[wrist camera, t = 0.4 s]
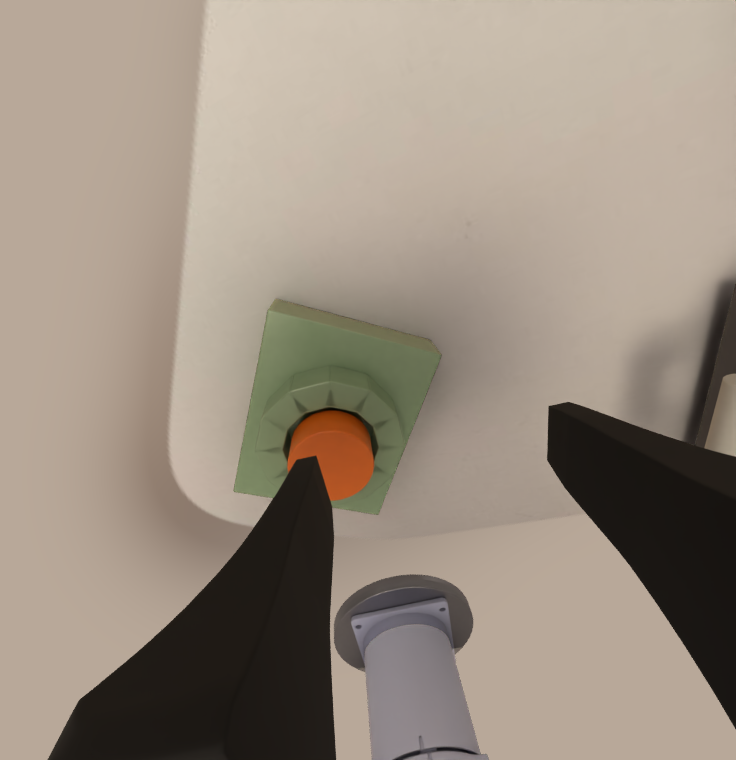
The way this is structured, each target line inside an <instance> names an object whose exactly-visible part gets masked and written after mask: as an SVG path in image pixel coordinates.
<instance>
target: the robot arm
mask: <svg viewBox="0 0 736 760" xmlns="http://www.w3.org/2000/svg"><path fill="white" fill-rule="evenodd" d="M547 460H548V462H549V464H550V465H551V467H552V468H553V470H554V472H555V473H556V475H557V476H558V478H559V479H560V481H561V482H562V484H563V486H564V487H565V488H566V490H567V491H568V492H569V493H570V495H571V496H572V497H573V498H574V499H575V501H576V502H577V503H578V504H579V505H580V507H581V508H582V509H583V510H584V511H585V512H586V514H587V515H588V516H589V517H590V518H591V519H592V520H593V522H594V523H595V524H596V525H597V527H598V528H599V529H600V530H601V531H602V532H603V533H604V535H605V536H606V537H607V538H608V539H609V540H610V542H611V543H612V544H613V545H614V546H615V547H616V549H617V550H618V551H619V552H620V554H621V555H622V556H623V557H624V559H625V560H626V561H627V563H628V564H629V565H630V566H631V568H632V569H633V570H634V572H635V573H636V575H637V576H638V578H639V579H640V580H641V582H642V583H643V585H644V586H645V587H646V589H647V590H648V592H649V593H650V594H651V596H652V597H653V599H654V600H655V602H656V603H657V605H658V606H659V607H660V609H661V611H662V612H663V614H664V615H665V617H666V618H667V620H668V621H669V622H670V624H671V626H672V627H673V629H674V630H675V632H676V633H677V635H678V636H679V638H680V639H681V641H682V642H683V644H684V645H685V647H686V649H687V650H688V652H689V653H690V655H691V657H692V658H693V660H694V661H695V663H696V664H697V666H698V668H699V669H700V671H701V672H702V674H703V676H704V677H705V679H706V680H707V682H708V684H709V685H710V687H711V688H712V690H713V692H714V693H715V695H716V697H717V698H718V700H719V702H720V703H721V705H722V707H723V708H724V710H725V712H726V713H727V715H728V717H729V719H730V720H731V722H732V723H733V725H734V727H735V729H736V457H735V456H731V455H727V454H724V453H720V452H716V451H712V450H709V449H705V448H702V447H698V446H695V445H692V444H689V443H685V442H682V441H679V440H676V439H673V438H670V437H667V436H664V435H661V434H658V433H655V432H652V431H649V430H646V429H643V428H641V427H638V426H635V425H632V424H630V423H627V422H624V421H621V420H619V419H616V418H613V417H611V416H608V415H605V414H603V413H600V412H597V411H594V410H592V409H589V408H586V407H583V406H580V405H577V404H574V403H570V402H566V403H561V404H557V405H552V406H549V415H548V453H547ZM333 547H334V530H333V515H332V505H331V501H330V498H329V495H328V492H327V488H326V485H325V482H324V479H323V475H322V472H321V469H320V466H319V462H318V459H317V456H311V457H307V458H302V459H297V460H296V461H295V463H294V464H293V466H292V468H291V469H290V471H289V473H288V475H287V476H286V478H285V480H284V482H283V483H282V485H281V487H280V488H279V490H278V492H277V493H276V495H275V497H274V498H273V500H272V501H271V503H270V504H269V506H268V508H267V509H266V511H265V512H264V514H263V515H262V517H261V518H260V520H259V521H258V523H257V524H256V525H255V527H254V528H253V530H252V531H251V533H250V534H249V535H248V537H247V538H246V540H245V541H244V542H243V544H242V545H241V546H240V548H239V549H238V550H237V551H236V553H235V554H234V555H233V556H232V558H231V559H230V560H229V561H228V562H227V564H226V565H225V566H224V567H223V568H222V569H221V570H220V572H219V573H218V574H217V575H216V576H215V577H214V578H213V579H212V580H211V582H209V583H208V584H207V586H206V587H205V588H204V589H203V590H202V591H201V592H200V593H199V594H198V595H197V596H196V597H195V598H194V599H193V600H192V602H190V604H189V605H188V606H187V607H186V608H185V609H184V610H183V611H182V612H180V613H179V614H178V615H177V616H176V617H175V618H174V619H173V620H172V621H171V622H170V623H169V624H168V625H167V626H166V627H165V628H164V629H163V630H161V631H160V632H159V633H158V634H157V635H156V636H155V637H154V638H153V639H152V640H151V641H150V642H148V643H147V644H146V645H145V646H144V647H143V648H142V649H140V650H139V651H138V652H137V653H136V654H135V655H134V656H132V657H131V658H130V659H129V660H128V661H126V662H125V663H124V664H123V665H122V666H120V667H119V668H118V669H117V670H115V671H114V672H113V673H112V674H111V675H109V676H108V677H107V678H106V679H105V680H103V681H102V682H101V683H100V684H99V685H97V686H96V687H95V688H94V689H93V690H91V691H90V692H89V693H88V694H86V695H85V696H84V697H82V698H81V699H80V700H79V701H78V703H77V705H76V707H75V709H74V710H73V712H72V714H71V716H70V718H69V720H68V722H67V724H66V726H65V727H64V729H63V731H62V733H61V735H60V737H59V739H58V741H57V743H56V745H55V747H54V749H53V751H52V753H51V755H50V756H49V758H48V760H336V751H335V733H334V717H333V697H332V678H331V677H332V676H331V652H330V605H331V586H332V567H333ZM351 625H352V628H353V631H354V634H355V637H356V640H357V643H358V646H359V649H360V652H361V655H362V658H363V661H364V664H365V672H366V686H367V699H368V712H369V727H370V740H371V754H372V760H489V759H488V755H487V754H481V753H480V750H479V746H478V743H477V739H476V735H475V731H474V728H473V724H472V720H471V717H470V713H469V710H468V706H467V702H466V699H465V695H464V691H463V688H462V684H461V680H460V677H459V673H458V670H457V666H456V660H455V653H454V645H453V638H452V631H451V623H450V616H449V609H448V603H447V600H446V599H445V598H443V597H441V598H436V599H431V600H426V601H421V602H416V603H412V604H407V605H402V606H397V607H392V608H387V609H383V610H378V611H373V612H368V613H363V614H359V615H355V616H353V617H352V618H351Z"/></svg>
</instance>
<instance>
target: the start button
mask: <svg viewBox="0 0 736 760" xmlns="http://www.w3.org/2000/svg"><path fill="white" fill-rule="evenodd" d="M311 456H317V459H318V462H319V466H320V469H321V472H322V475H323V479H324V482H325V485H326V488H327V492H328V495H329V498H330V501H335V500H341V499H345V498H348V497H350V496H353V495H354V494H356V493H358V492H359V491H361V490H362V489H363V488H364V487H365V486H366V485H367V483H368V482H369V480H370V479H371V476H372V474H373V470H374V458H373V452H372V446H371V440H370V435H369V432H368V430H367V428H366V427H365V425H364V424H363V423H362V422H361V421H360V420H359V419H357V418H356V417H354V416H353V415H351V414H348V413H346V412H342V411H337V410H327V411H321V412H317V413H315V414H312V415H310V416H309V417H307V418H305V419H304V420H303V421H302V422H301V423H300V424H299V425H298V426H297V428H296V429H295V431H294V433H293V436H292V440H291V446H290V451H289V457H288V463H287V470H288V473H289V471H290V469H291V468H292V466H293V464H294V463H295V461H296V460H297V459H302V458H307V457H311Z"/></svg>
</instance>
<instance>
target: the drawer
mask: <svg viewBox="0 0 736 760" xmlns="http://www.w3.org/2000/svg"><path fill="white" fill-rule="evenodd" d="M695 446H698V447H702V448H705V449H709V450H712V451H716V452H720V453H724V454H727V455H731V456H735V457H736V284H735V288H734V292H733V296H732V300H731V304H730V308H729V312H728V316H727V320H726V324H725V328H724V332H723V336H722V340H721V344H720V348H719V352H718V356H717V360H716V364H715V368H714V372H713V376H712V380H711V384H710V388H709V392H708V396H707V400H706V404H705V408H704V412H703V416H702V420H701V424H700V428H699V432H698V436H697V440H696V444H695Z"/></svg>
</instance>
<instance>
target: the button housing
mask: <svg viewBox="0 0 736 760" xmlns="http://www.w3.org/2000/svg"><path fill="white" fill-rule="evenodd" d="M441 356H442V355H441V353H440V352H439V351H438V349H437V348H436V347H435V345H434V344H433V343H432V342H431V340H429V339H425V338H421V337H417V336H414V335H410V334H406V333H402V332H399V331H395V330H391V329H387V328H384V327H380V326H376V325H372V324H369V323H365V322H361V321H357V320H354V319H350V318H346V317H342V316H339V315H335V314H331V313H328V312H324V311H320V310H316V309H313V308H309V307H305V306H301V305H298V304H294V303H290V302H286V301H283V300H279V299H275V300H274V302H273V303H272V305H271V306H270V308H269V309H268V312H267V317H266V322H265V328H264V333H263V338H262V343H261V349H260V354H259V359H258V364H257V370H256V375H255V380H254V385H253V391H252V396H251V401H250V406H249V412H248V417H247V422H246V427H245V433H244V438H243V443H242V448H241V454H240V459H239V464H238V469H237V475H236V480H235V485H234V490H233V491H234V492H238V493H244V494H251V495H257V496H263V497H270V498H274V497H275V495H276V493H277V492H278V490H279V488H280V487H281V485H282V483H283V482H284V480H285V478H286V476H287V475H288V470H287V463H288V457H289V451H290V446H291V440H292V436H293V433H294V431H295V429H296V428H297V426H298V425H299V424H300V423H301V422H302V421H303V420H304V419H305V418H307V417H309V416H310V415H312V414H315V413H317V412H321V411H327V410H337V411H342V412H346V413H348V414H351V415H353V416H354V417H356V418H357V419H359V420H360V421H361V422H362V423H363V424H364V425H365V427H366V428H367V430H368V432H369V435H370V440H371V446H372V452H373V458H374V470H373V474H372V476H371V479H370V480H369V482H368V483H367V485H366V486H365V487H364V488H363V489H362V490H361V491H359V492H358V493H356V494H354V495H353V496H350V497H348V498H345V499H341V500H335V501H331V505H332V508H339V509H345V510H351V511H357V512H364V513H370V514H376V515H378V514H379V511H380V509H381V506H382V504H383V501H384V499H385V496H386V494H387V491H388V489H389V486H390V484H391V481H392V479H393V476H394V474H395V471H396V469H397V466H398V464H399V461H400V459H401V456H402V454H403V451H404V449H405V446H406V444H407V441H408V439H409V436H410V434H411V431H412V429H413V426H414V424H415V421H416V419H417V416H418V414H419V411H420V409H421V406H422V404H423V401H424V399H425V396H426V394H427V391H428V389H429V386H430V383H431V381H432V378H433V376H434V373H435V371H436V368H437V366H438V363H439V361H440V358H441Z"/></svg>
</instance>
